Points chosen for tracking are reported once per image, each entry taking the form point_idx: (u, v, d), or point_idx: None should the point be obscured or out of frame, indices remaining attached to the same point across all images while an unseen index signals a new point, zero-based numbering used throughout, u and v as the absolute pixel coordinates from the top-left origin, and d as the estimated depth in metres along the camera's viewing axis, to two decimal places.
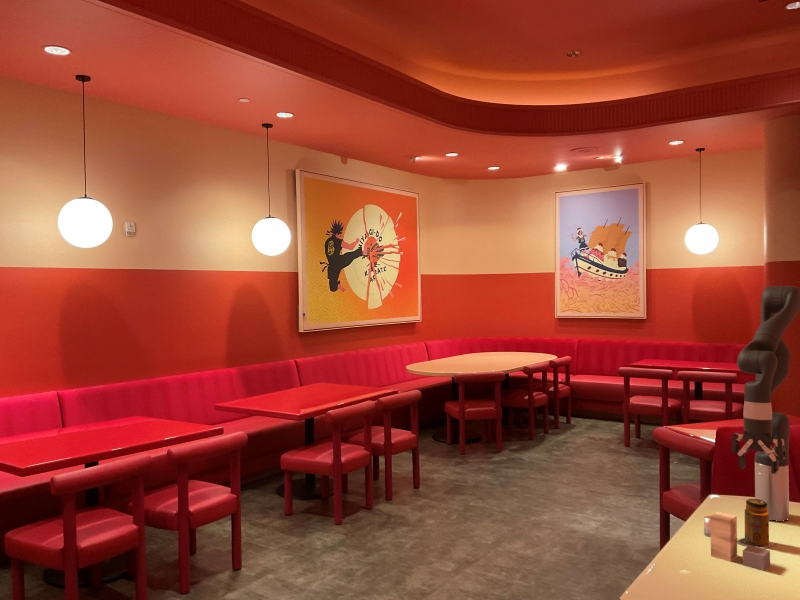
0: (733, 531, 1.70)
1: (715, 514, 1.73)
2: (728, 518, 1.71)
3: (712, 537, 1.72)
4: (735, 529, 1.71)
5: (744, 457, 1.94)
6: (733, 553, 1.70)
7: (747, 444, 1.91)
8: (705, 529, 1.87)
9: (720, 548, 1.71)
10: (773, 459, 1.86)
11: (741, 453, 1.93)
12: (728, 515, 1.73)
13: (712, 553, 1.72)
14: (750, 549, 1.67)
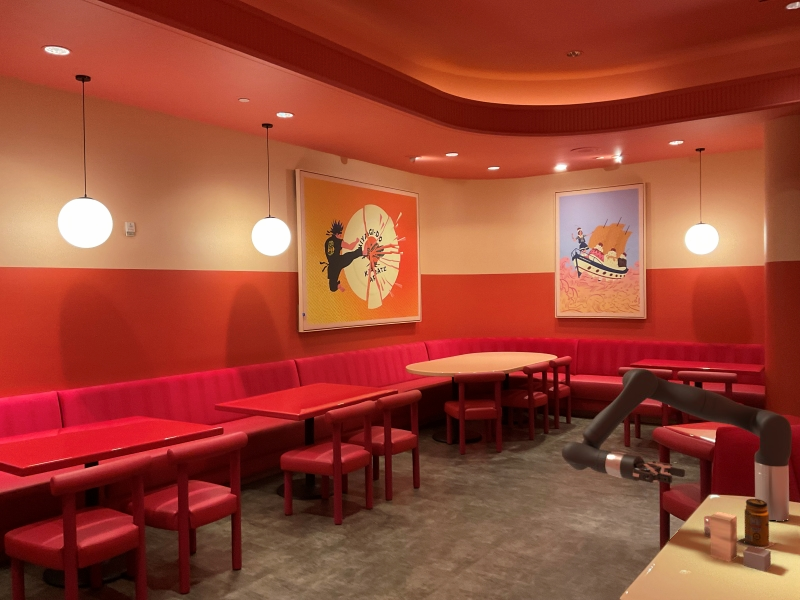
0: (733, 531, 1.70)
1: (715, 514, 1.73)
2: (728, 518, 1.71)
3: (712, 537, 1.72)
4: (734, 529, 1.71)
5: (672, 471, 1.86)
6: (733, 553, 1.70)
7: None
8: (705, 529, 1.87)
9: (720, 548, 1.70)
10: None
11: None
12: (728, 515, 1.73)
13: (712, 553, 1.72)
14: (750, 549, 1.67)
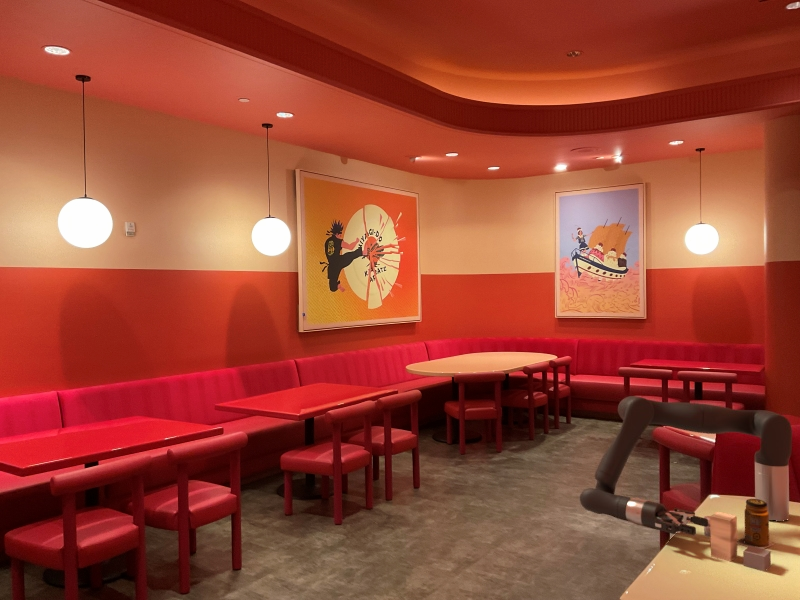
0: (733, 531, 1.70)
1: (715, 514, 1.73)
2: (728, 518, 1.71)
3: (712, 537, 1.72)
4: (735, 529, 1.71)
5: (695, 520, 1.82)
6: (733, 553, 1.70)
7: None
8: (705, 529, 1.87)
9: (720, 548, 1.70)
10: None
11: None
12: (728, 515, 1.73)
13: (712, 553, 1.72)
14: (750, 549, 1.67)
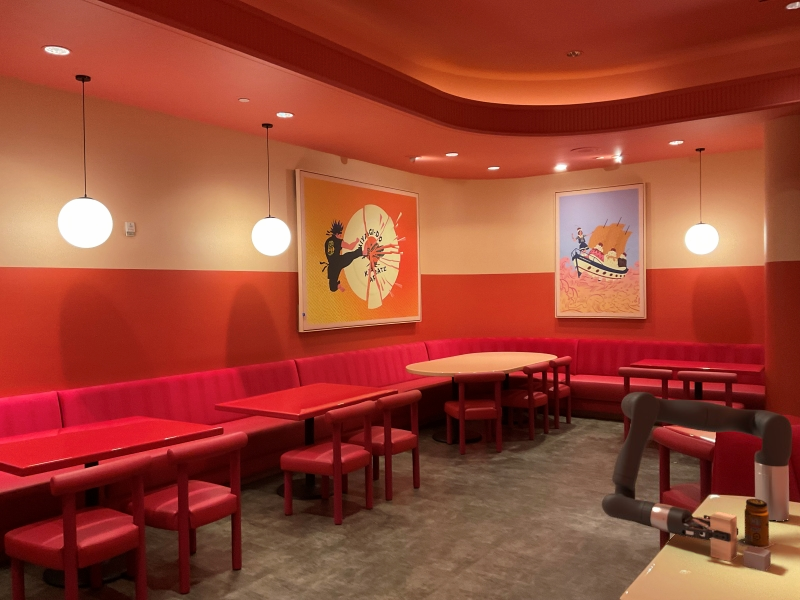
0: (733, 531, 1.70)
1: (715, 514, 1.73)
2: (728, 517, 1.71)
3: None
4: (734, 529, 1.71)
5: None
6: (733, 553, 1.70)
7: None
8: None
9: (720, 547, 1.71)
10: None
11: None
12: (728, 515, 1.73)
13: (712, 553, 1.72)
14: (750, 549, 1.67)
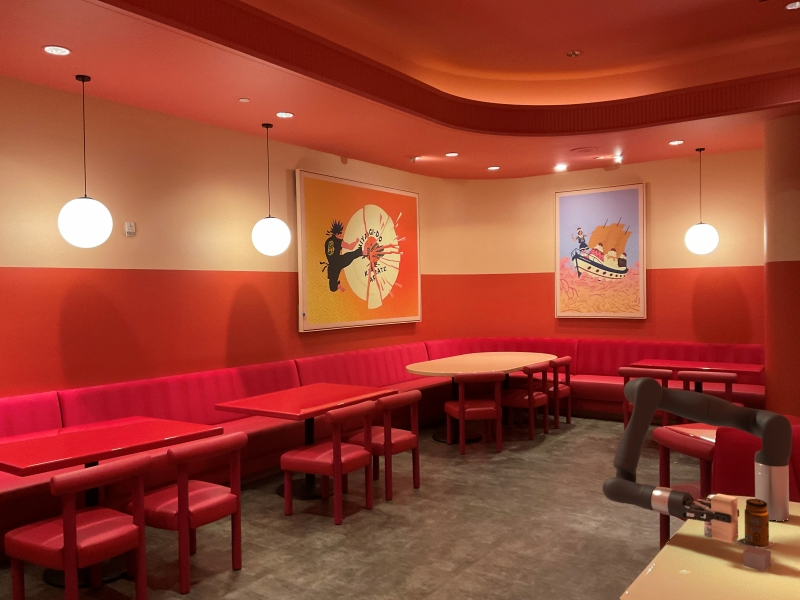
0: (733, 513, 1.70)
1: (716, 496, 1.73)
2: (729, 499, 1.70)
3: None
4: (735, 511, 1.71)
5: None
6: (734, 535, 1.70)
7: None
8: (705, 529, 1.87)
9: (721, 529, 1.70)
10: None
11: None
12: (729, 496, 1.72)
13: (713, 535, 1.72)
14: (750, 549, 1.67)
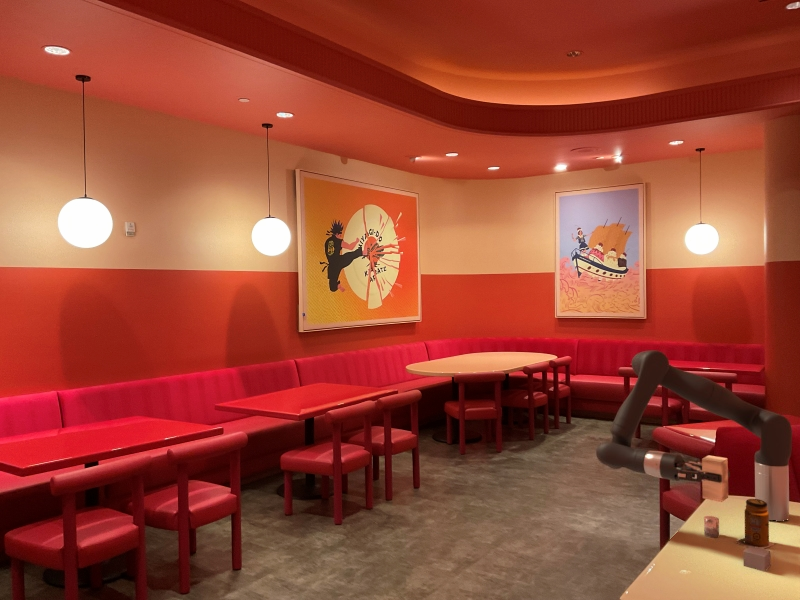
0: (724, 473, 1.74)
1: (706, 457, 1.77)
2: (719, 460, 1.74)
3: None
4: (726, 471, 1.75)
5: None
6: (724, 495, 1.74)
7: None
8: (705, 529, 1.87)
9: (711, 489, 1.74)
10: None
11: None
12: (719, 458, 1.77)
13: (704, 495, 1.76)
14: (750, 549, 1.67)
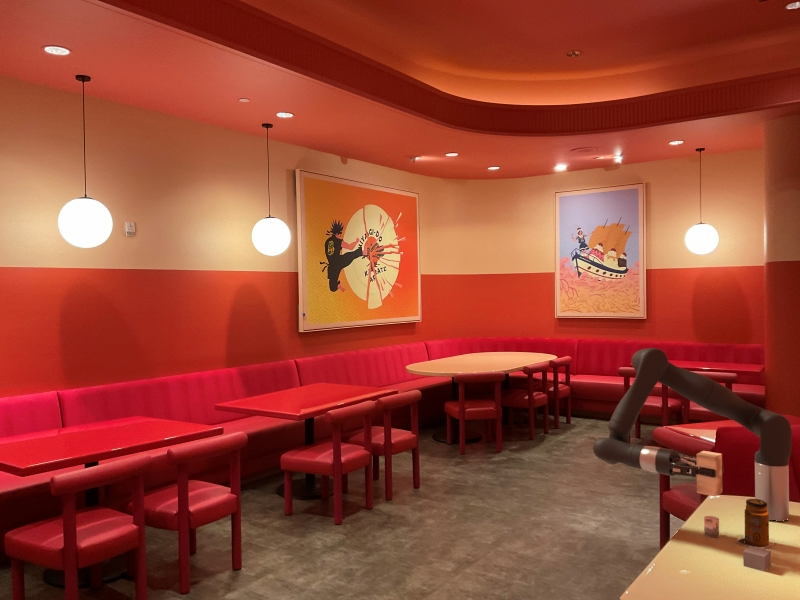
0: (718, 468, 1.76)
1: (701, 452, 1.80)
2: (713, 455, 1.77)
3: None
4: (720, 466, 1.77)
5: None
6: (719, 489, 1.77)
7: None
8: (705, 529, 1.87)
9: (705, 484, 1.77)
10: None
11: None
12: (714, 453, 1.79)
13: (698, 490, 1.78)
14: (750, 549, 1.67)
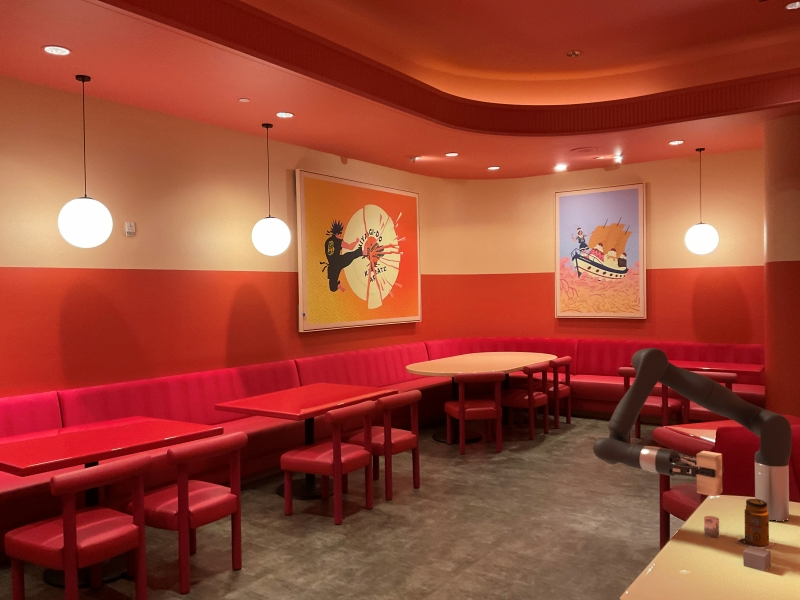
0: (718, 468, 1.76)
1: (701, 452, 1.80)
2: (713, 455, 1.77)
3: None
4: (720, 466, 1.77)
5: None
6: (719, 489, 1.77)
7: None
8: (705, 529, 1.87)
9: (705, 484, 1.77)
10: None
11: None
12: (714, 453, 1.79)
13: (698, 490, 1.78)
14: (750, 549, 1.67)
